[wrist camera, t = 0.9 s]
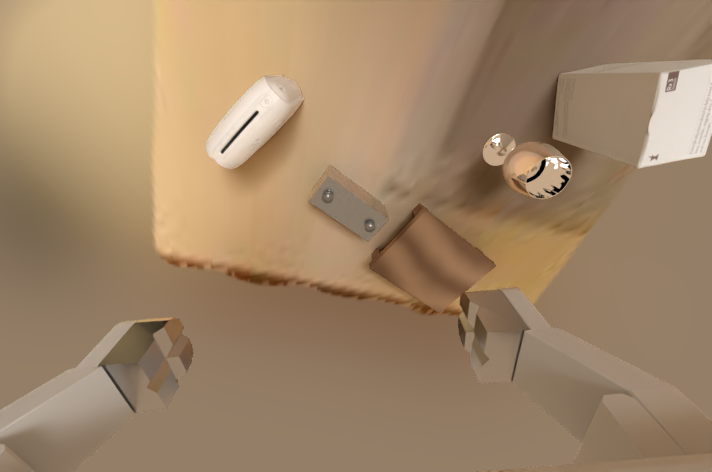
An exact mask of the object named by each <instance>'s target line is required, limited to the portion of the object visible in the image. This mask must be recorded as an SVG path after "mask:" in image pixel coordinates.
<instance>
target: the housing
mask: <svg viewBox="0 0 712 472" xmlns="http://www.w3.org/2000/svg"><path fill="white" fill-rule="evenodd" d="M309 202H310V203H311V204H313V205H314V206H316V207H317V208H319V209H320V210H322V211H323V212H325V213H326V214H327V215H329V216H330V217H332V218H333V219H335V220H336V221H338V222H339V223H341V224H342V225H344V226H345V227H347V228H348V229H350V230H351V231H353V232H354V233H356V234H357V235H359V236H360V237H362V238H363V239H365V240H366V241H369V240H370V239H371V238H372V237H373V236H374V235H375V234H376V233H377V232H378V231H379V230H380V228H381V227H382V226H383V225H384V224H385V223H386V222H387V221H388V220H389V219H388V215H387V211H386V207H385V205H384V204H383V203H381V202H380V201H379V200H377V199H376V198H375V197H373V196H372V195H370V194H369V193H368V192H366V191H365V190H364V189H362V188H361V187H360V186H358V185H357V184H356V183H354V182H353V181H352V180H350V179H349V178H347V177H346V176H345V175H343V174H342V173H341V172H339V171H338V170H337V169H335V168H334V167H333V166H331V165H330V166H329V168H328V169H327V170H326V172H325V173H324V174H323V176H322V177H321V178H320V180H319V181H318V182H317V184H316V185H315V186H314V188H313V189H312V193H311V196H310V199H309Z"/></svg>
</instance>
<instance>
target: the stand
mask: <svg viewBox="0 0 712 472" xmlns="http://www.w3.org/2000/svg"><path fill="white" fill-rule="evenodd" d="M412 212H413V214H414V216H415V217H414V218H413V219H412V220H411V221H410V222H409V223H408V224H407V225H406V226H405V227H404V228H403V230H402V231H401V232H400V233H399V234H398V235H397V236H396V237H395V238H394V239H393V240H392V241H391V242H390V243H389V244H388V245H387V246H386V247H385V248H384V249H383V250H382V249H380V248H379V247H378V248H377V249H376V250H375V251H374V252H373V253H372V259H373V261H372V262H371V263H370V264H369V265H370V269H371V270H373V271H375V272H376V273H378V274H379V275H381V276H382V277H384V278H386V279H387V280H389V281H390V282H392V283H393V284H395V285H396V286H398V287H400V288H401V289H403V290H404V291H406V292H407V293H409V294H410V295H412V296H414V297H415V298H417V299H418V300H420V301H421V302H423V303H424V304H426V305H428V306H429V307H431V308H432V309H434V310H435V311H437V312H438V313H440V312H441V311H443V310H444V309H445V308H446V307H447V306H449V305H450V304H451V303H452V302H453V301H455V300H456V299H457V298H458V297H459V296H461V294H462V293H464V292H465V291H467V290H468V289H469V288H470V287H471V286H473V285H474V284H475V283H476V282H477V281H479V280H480V279H481V278H482V277H483V276H485V275H486V274H487V273H488V272H489V271H491V270H492V269H493V268H494V267H495V266H496V265H495V264H494V262H493V261H492V260H490V259H489V258H488V257H486V256H485V255H484V254H483V252H481V251H480V250H479V249H478V248H475V247H474V246H472V245H471V244H470V243H468V242H467V241H466V240H465V239H463V238H462V237H461V236H459V235H458V234H457V233H456V232H454V231H453V230H452V229H450V228H449V227H448V226H447V225H445V224H444V223H443V222H441V221H440V220H439V219H438V218H436V217H435V216H434V215H432V214H431V213H430V212H429V211H428V210H427V209H426V208H425V207H424V206H422V205H421V204H419V205H418V206H417V207H416V208H415V209H414V210H413V211H412Z"/></svg>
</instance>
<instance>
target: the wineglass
mask: <svg viewBox="0 0 712 472" xmlns="http://www.w3.org/2000/svg"><path fill="white" fill-rule="evenodd" d="M482 154H483V159H484V160H485V162H486V163H488V164H489V165H492V166H499V165H502V164H503V166H502V174H503V178H504V180H505V182H506V183H507V184H508V186H509V187H510V188H512V189H513V190H515V191H516V192H518V193H520V194H522V195H525V196H528V197H532V198H536V199H547V198H551V197H553V196H555V195H557V194H558V193H560V192H561V191H562V190H563V189H564V188H565V187H566V186H567V184H568V183H569V181H570V179H571V176H572V166H571V164H570V162H569V161H568V160H567V158H566V157H565V156H564V155H563V154H562V153H561V152H560V151H559V150H557V149H556V148H555V147H553V146H551V145H549V144H547V143H544V142H538V141H530V142H525V143H522V144H520V145H518V146H516V143H515V140H514V138H513V137H512V136H511V135H509V134H507V133H499V134H496V135H494V136H492V137H491V138H489V139H488V141H487V142H486V143H485V145H484V147H483V152H482Z"/></svg>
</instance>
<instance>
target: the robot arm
mask: <svg viewBox="0 0 712 472" xmlns="http://www.w3.org/2000/svg"><path fill="white" fill-rule="evenodd" d="M460 306H461V308H462V310H463V311H462V313H461V314H460V315H459V316H458V329H459V336H460V339H461V342H462V345H463V347H464V349H465V350H466V351H468V352H469V353H471V359H470V363H471V365H472V368H473V370H474V372H475V375H476V376H477V379H478V381H479V383H497V382H512V384H513V385H515V386H516V387H517V388H518V389H519V390H520V391H522V392H523V393H524V394H525V395H526V396H527V397H529V398H530V399H531V400H532V401H533V402H534V403H536V404H537V405H538V406H539V407H540V408H541V409H543V410H544V411H545V412H546V413H547V414H548V415H550V416H551V417H552V418H553V419H554V420H555V421H557V422H558V423H559V424H560V425H561V426H563V427H564V428H565V429H566V430H567V431H568V432H569V433H571V434H572V435H573V436H574V437H575V438H576V439H578V440H579V441H580V442H581V443H582V444H581V446H580V448H579V450H578V453H577V455H576V457H575V459H574V462H573V464H567V465H554V466H542V467H529V468H516V469H503V470H491V471H479V472H712V421H711V420H710V419H709V418H707V417H706V416H705V415H704V414H703V413H702V412H701V411H700V410H699V409H698V408H697V407H696V406H695V405H694V404H693V403H692V402H691V401H689V400H688V399H687V398H686V397H685V396H684V395H683V394H682V393H681V392H680V391H679V390H678V389H677V388H675V387H674V386H672V385H670V384H667V383H666V382H664V381H662V380H659V379H658V378H656V377H654V376H652V375H650V374H648V373H646V372H644V371H642V370H640V369H638V368H636V367H634V366H632V365H630V364H628V363H626V362H624V361H622V360H620V359H618V358H616V357H614V356H613V355H611V354H609V353H607V352H605V351H603V350H601V349H599V348H597V347H595V346H593V345H591V344H589V343H587V342H585V341H583V340H581V339H579V338H577V337H575V336H573V335H571V334H569V333H567V332H565V331H563V330H561V329H559V328H552V327H551V326H550V325H549V324H548V323H547V322H546V320H545V319H544V318H543V317H542V315H541V314H540V313H539V312H538V311H537V310H536V308H535V307H534V306H533V305H532V303H531V302H530V301H529V300H528V299H527V297H526V296H525V295H524V294H523V293H522V291H521V290H520V289H518V288H517V287H512V288H502V289H497V290H486V291H475V292H464V293H462V294H461V297H460ZM183 329H184V327H183V325H182V323H181V321H180V319H178V318H159V319H143V320H133V321H132V320H131V321H123V322H120V323H118V324H117V325H115V327H114V328H113V329H112V330H111V331H110V332H109V333H108V334H107V335H106V336H105V337H104V338H103V339H102V340H101V342H100V343H99V344H98V345H97V346H96V347H95V348H94V349H93V350H92V351H91V352H90V353H89V354H88V356H87V357H86V358H85V359H84V360H83V361H82V362H81V363H80V364H79V365H78V366H77V367H76V368H75V369H69V370H67V371H65V372H64V373H62V374H60V375H59V376H57V377H55V378H54V379H52V380H50V381H49V382H47V383H45V384H44V385H42V386H40V387H38V388H37V389H35V390H33V391H32V392H30V393H28V394H27V395H25V396H23V397H22V398H20V399H18V400H16V401H15V402H13V403H11V404H10V405H8V406H6V407H5V408H3V409H1V410H0V472H74V471H76V470H77V469H78V468H79V467H80V466H81V465H82V464H83V463H84V462H85V461H86V460H87V459H88V458H89V457H90V456H92V455H93V454H94V453H95V452H96V451H97V450H98V449H99V448H100V447H101V446H102V445H103V444H104V443H105V442H106V441H107V440H109V439H110V438H111V437H112V436H113V435H114V434H115V433H116V432H117V431H118V430H119V429H120V428H121V427H122V426H123V425H124V424H125V423H127V422H128V421H129V420H130V419H131V418H132V417H133V416H134V415H135V413H138V412H147V411H155V410H165V409H167V408H168V406H169V404H170V402H171V401H172V399H173V397H174V395H175V393H176V391H177V390H178V388H179V384H178V379H179V378H180V377H182V376H183V375H184V374H185V373H187V371H188V369H189V367H190V365H191V362H192V357H193V348H192V344H191V342H190V339H189V338H187V337H186V336H184V335H183V334H181V333H182V331H183Z"/></svg>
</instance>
